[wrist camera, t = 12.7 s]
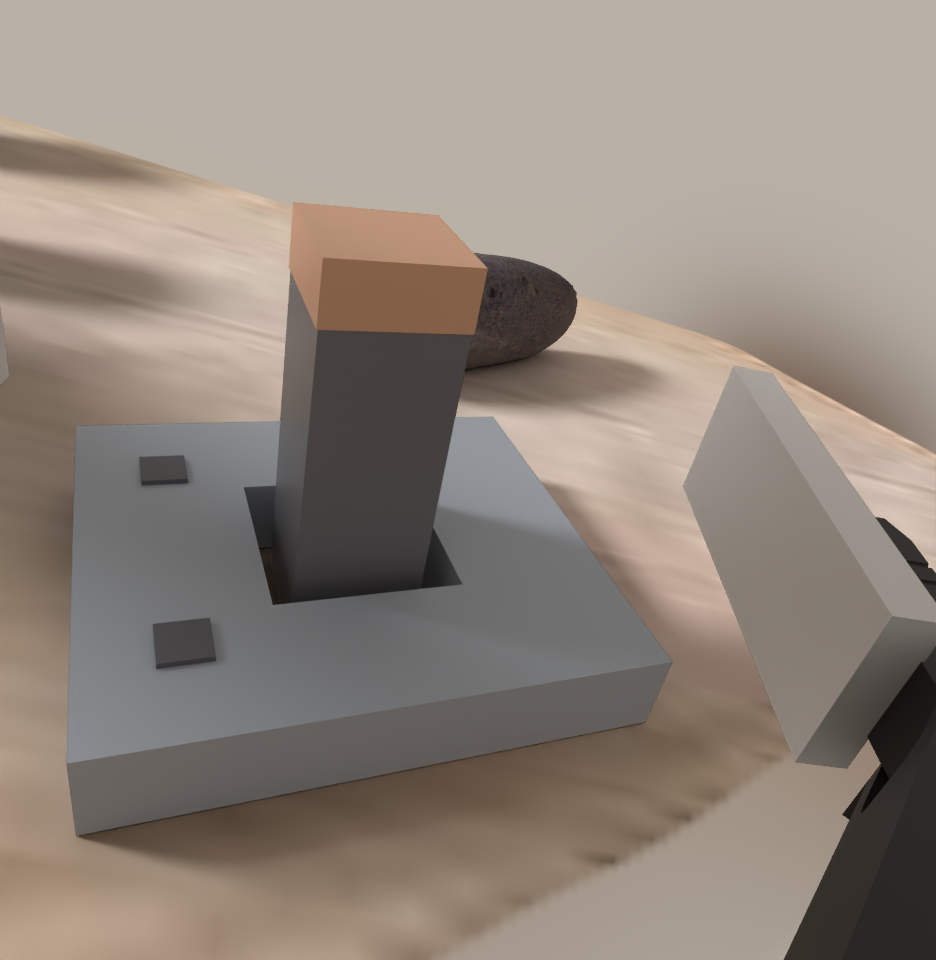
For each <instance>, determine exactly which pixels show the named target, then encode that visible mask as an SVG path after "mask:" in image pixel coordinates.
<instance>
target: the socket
mask: <svg viewBox="0 0 936 960" xmlns="http://www.w3.org/2000/svg"><path fill="white" fill-rule="evenodd" d="M279 432H280V421H273V422H227V423H181V424H136V425H90V426H76V435H75V472H74V508H73V545H72V582H71V618H70V655H69V692H68V728H67V771H68V779H69V786H70V794H71V801H72V809H73V817H74V824H75V832H76V836H78V835H83V834H88V833H93V832H98V831H103V830H108V829H113V828H118V827H123V826H128V825H133V824H138V823H143V822H148V821H153V820H158V819H163V818H168V817H173V816H178V815H183V814H188V813H193V812H198V811H203V810H208V809H213V808H218V807H223V806H228V805H233V804H238V803H243V802H248V801H253V800H258V799H263V798H268V797H273V796H278V795H283V794H288V793H293V792H298V791H303V790H308V789H313V788H318V787H323V786H328V785H333V784H338V783H344V782H349V781H354V780H359V779H364V778H369V777H374V776H379V775H384V774H389V773H394V772H399V771H404V770H409V769H414V768H419V767H424V766H429V765H434V764H439V763H444V762H449V761H454V760H459V759H464V758H469V757H474V756H479V755H484V754H489V753H494V752H499V751H504V750H509V749H514V748H519V747H524V746H529V745H534V744H539V743H544V742H549V741H554V740H559V739H564V738H569V737H574V736H579V735H584V734H589V733H594V732H599V731H604V730H609V729H614V728H619V727H624V726H629V725H634V724H639V723H644V722H646V720H647V718H648V715H649V713H650V711H651V709H652V706H653V704H654V702H655V700H656V698H657V695H658V693H659V691H660V689H661V687H662V684H663V682H664V680H665V678H666V676H667V673H668V671H669V669H670V667H671V664H672V660H671V659H670V658H669V656H668V655H667V654H666V652H665V651H664V649H663V648H662V647H661V645H660V644H659V643H658V641H657V640H656V639H655V637H654V636H653V634H652V633H651V632H650V630H649V629H648V628H647V626H646V625H645V624H644V622H643V621H642V619H641V618H640V617H639V615H638V614H637V613H636V611H635V610H634V609H633V607H632V606H631V604H630V603H629V602H628V600H627V599H626V598H625V596H624V595H623V594H622V592H621V591H620V589H619V588H618V587H617V585H616V584H615V583H614V581H613V580H612V579H611V577H610V576H609V574H608V573H607V572H606V570H605V569H604V568H603V566H602V565H601V563H600V562H599V561H598V559H597V558H596V557H595V555H594V554H593V553H592V551H591V550H590V548H589V547H588V546H587V544H586V543H585V542H584V540H583V539H582V538H581V536H580V535H579V533H578V532H577V531H576V529H575V528H574V527H573V525H572V524H571V523H570V521H569V520H568V518H567V517H566V516H565V514H564V513H563V512H562V510H561V509H560V508H559V506H558V505H557V503H556V502H555V501H554V499H553V498H552V497H551V495H550V494H549V493H548V491H547V490H546V488H545V487H544V486H543V484H542V483H541V482H540V480H539V479H538V477H537V476H536V475H535V473H534V472H533V471H532V469H531V468H530V467H529V465H528V464H527V462H526V461H525V460H524V458H523V457H522V456H521V454H520V453H519V452H518V450H517V449H516V447H515V446H514V445H513V443H512V442H511V441H510V439H509V438H508V437H507V435H506V434H505V432H504V431H503V430H502V428H501V427H500V426H499V424H498V423H497V422H496V420H495V419H494V417H456V418H455V421H454V426H453V431H452V436H451V441H450V446H449V451H448V456H447V461H446V466H445V471H444V476H443V480H442V485H441V490H440V495H439V500H438V505H437V510H436V515H435V520H434V525H433V530H432V535H431V540H430V545H429V550H428V554H427V559H426V564H425V569H424V574H423V579H422V584H421V588H422V589H416V590H407V591H397V592H388V593H379V594H370V595H361V596H352V597H342V598H333V599H324V600H315V601H306V602H297V603H287V604H278V605H273V604H272V600H271V596H270V592H269V588H268V584H267V580H266V576H265V571H264V567H263V563H262V559H261V555H260V551H259V548H265V547H272V534H273V519H274V505H275V490H276V475H277V461H278V446H279Z"/></svg>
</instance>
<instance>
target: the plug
mask: <svg viewBox="0 0 936 960" xmlns="http://www.w3.org/2000/svg"><path fill="white" fill-rule="evenodd" d="M289 268H290V286H289V301H288V315H287V330H286V344H285V359H284V373H283V388H282V403H281V417H280V432H279V446H278V461H277V475H276V490H275V505H274V519H273V534H272V548H271V568H272V572H273V577H274V581H275V586H276V590H277V595H278V599H279V604H287V603H297V602H306V601H315V600H324V599H333V598H342V597H352V596H361V595H370V594H379V593H388V592H397V591H407V590H416V589H421V584H422V579H423V574H424V569H425V564H426V559H427V554H428V550H429V545H430V540H431V535H432V530H433V525H434V520H435V515H436V510H437V505H438V500H439V495H440V490H441V485H442V480H443V476H444V471H445V466H446V461H447V456H448V451H449V446H450V441H451V436H452V431H453V426H454V421H455V416H456V411H457V406H458V402H459V397H460V392H461V387H462V382H463V377H464V372H465V367H466V362H467V357H468V352H469V347H470V342H471V337H472V335H474V334H475V329H476V324H477V319H478V314H479V310H480V305H481V300H482V295H483V290H484V285H485V280H486V275H487V270H488V268H487V267H486V266H485V265H484V264H483V263H482V262H481V261H480V259H479V258H478V257H477V256H476V255H475V254H474V253H473V252H472V251H471V250H470V249H469V248H468V247H467V246H466V245H465V243H464V242H463V241H462V240H461V239H460V238H459V237H458V236H457V235H456V234H455V233H454V232H453V231H452V230H451V229H450V228H449V226H448V225H447V224H445V222H444V221H443V220H442V219H441V218H440V217H439V216H438V215H429V214H418V213H407V212H395V211H385V210H374V209H362V208H351V207H340V206H329V205H318V204H307V203H296V202H294V203H293V213H292V228H291V243H290V258H289Z"/></svg>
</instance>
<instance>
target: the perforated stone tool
mask: <svg viewBox="0 0 936 960" xmlns="http://www.w3.org/2000/svg"><path fill="white" fill-rule="evenodd" d="M474 254H475V255H476V256H477V257H478V258H479V259H480V261H481V262H482V263H483V264H484V265H485V266H486V267H487V268H488V270H487V275H486V280H485V285H484V290H483V295H482V300H481V305H480V310H479V314H478V319H477V324H476V329H475V334H474V335H472V337H471V342H470V347H469V352H468V357H467V362H466V367H465V369H469V368H475V367H480V366H489V365H494V364H498V363H505V362H509V361H513V360H518V359H522V358H525V357H529V356H531V355H534V354H536V353H538V352H541V351H542V350H544V349H546V348H547V347H549V346H550V345H552V344H553V343H555V342H556V341H557V340H558V339H559V338H560V337H561V336H562V335H563V334H564V333H565V332H566V331H567V329H568V328H569V326H570V325H571V323H572V321H573V319H574V316H575V314H576V307H577V298H576V294H577V293H576V291H575V290H574V288H573V286H571V284H570V283H569V282H568V281H567V280H566V279H564V278H563V277H561V275H559V274H557V273H556V272H554V271H552V270H550V269H548V268H545V267H543V266H540V265H537V264H535V263H532V262H528V261H524V260H520V259H516V258H510V257H503V256H496V255H486V254H479V253H474Z"/></svg>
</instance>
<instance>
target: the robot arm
mask: <svg viewBox="0 0 936 960" xmlns="http://www.w3.org/2000/svg"><path fill="white" fill-rule="evenodd" d="M8 377H9V370H8V362H7V355H6V347H5V339H4V332H3V324H2V316H1V309H0V385H1V384H2V383H3V382H4V381H5V380H6V379H7V378H8ZM683 488H684V490H685V493H686V495H687V497H688V500H689V502H690V505H691V507H692V510H693V512H694V515H695V517H696V520H697V522H698V525H699V527H700V530H701V532H702V534H703V537H704V539H705V542H706V544H707V547H708V549H709V552H710V554H711V557H712V559H713V562H714V564H715V567H716V569H717V571H718V574H719V576H720V579H721V581H722V584H723V586H724V589H725V591H726V594H727V596H728V599H729V601H730V604H731V606H732V608H733V611H734V613H735V616H736V618H737V621H738V623H739V626H740V628H741V631H742V633H743V636H744V638H745V641H746V643H747V645H748V648H749V650H750V653H751V655H752V658H753V660H754V663H755V665H756V668H757V670H758V673H759V675H760V678H761V680H762V682H763V685H764V687H765V690H766V692H767V695H768V697H769V700H770V702H771V705H772V707H773V710H774V712H775V715H776V717H777V719H778V722H779V724H780V727H781V729H782V732H783V734H784V737H785V739H786V742H787V744H788V747H789V749H790V752H791V754H792V756H793V759H794V761H795V762H798V763H806V764H814V765H823V766H830V767H838V768H846V769H847V768H848V766H849V765H850V764H851V762H852V761H853V759H854V758H855V757H856V755H857V754H858V752H859V751H860V749H862V747H863V746H864V744H865V743H866V742H867V740H868V739H869V741H870V743H871V745H872V747H873V749H874V751H875V753H876V755H877V757H878V759H879V761H880V763H881V764H880V766H879V767H878V768H877V770H876V771H875V772H874V774H873V775H872V776H871V778H870V779H869V780H868V781H867V783H866V784H865V785H864V787H863V788H862V789H861V791H860V792H859V793H858V795H857V796H856V797H855V799H854V800H853V801H852V803H851V804H850V805H849V807H848V808H847V809H846V810H845V812H844V813H843V814H842V815H844V816H845V817H846V818H848V819H849V822H848V824H847V827H846V829H845V831H844V833H843V835H842V837H841V839H840V841H839V844H838V846H837V848H836V850H835V852H834V854H833V856H832V859H831V861H830V863H829V865H828V867H827V869H826V871H825V873H824V875H823V878H822V880H821V882H820V884H819V886H818V888H817V890H816V892H815V895H814V897H813V899H812V901H811V903H810V905H809V907H808V909H807V912H806V914H805V916H804V918H803V920H802V922H801V924H800V926H799V929H798V931H797V933H796V935H795V937H794V939H793V941H792V943H791V946H790V948H789V950H788V952H787V954H786V956H785V958H784V960H936V573H935V572H934V570H933V569H932V568H928V562H927V561H926V560H925V558H924V557H923V556H922V554H921V553H920V552H919V550H918V549H917V548H916V546H915V545H914V544H913V542H912V541H911V540H910V539H909V538H907V537H906V536H905V535H904V534H903V533H901V532H900V531H899V530H898V529H896V528H895V527H894V526H893V525H892V524H890V523H889V522H888V521H887V520H886V519H884V518H877V517H875V516H874V515H873V514H872V512H871V511H870V509H869V508H868V507H867V505H866V504H865V502H864V501H863V500H862V498H861V497H860V495H859V494H858V493H857V491H856V490H855V488H854V487H853V486H852V484H851V483H850V481H849V480H848V479H847V477H846V476H845V474H844V473H843V472H842V470H841V469H840V467H839V466H838V465H837V463H836V462H835V460H834V459H833V457H832V456H831V455H830V453H829V452H828V450H827V449H826V448H825V446H824V445H823V443H822V442H821V441H820V439H819V438H818V436H817V435H816V434H815V432H814V431H813V429H812V428H811V427H810V425H809V424H808V422H807V421H806V420H805V418H804V417H803V415H802V414H801V413H800V411H799V410H798V408H797V407H796V406H795V404H794V403H793V401H792V400H791V399H790V397H789V396H788V394H787V393H786V392H785V390H784V389H783V387H782V386H781V384H780V383H779V382H778V380H777V379H776V377H775V376H774V375H773V373H770V372H765V371H759V370H754V369H748V368H743V367H738V366H733V368H732V371H731V373H730V375H729V378H728V380H727V382H726V385H725V387H724V390H723V392H722V394H721V397H720V399H719V402H718V404H717V406H716V409H715V411H714V413H713V416H712V418H711V421H710V423H709V425H708V428H707V430H706V432H705V435H704V437H703V440H702V442H701V444H700V447H699V449H698V451H697V454H696V456H695V459H694V461H693V463H692V466H691V468H690V471H689V473H688V475H687V478H686V480H685V482H684V485H683Z"/></svg>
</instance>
